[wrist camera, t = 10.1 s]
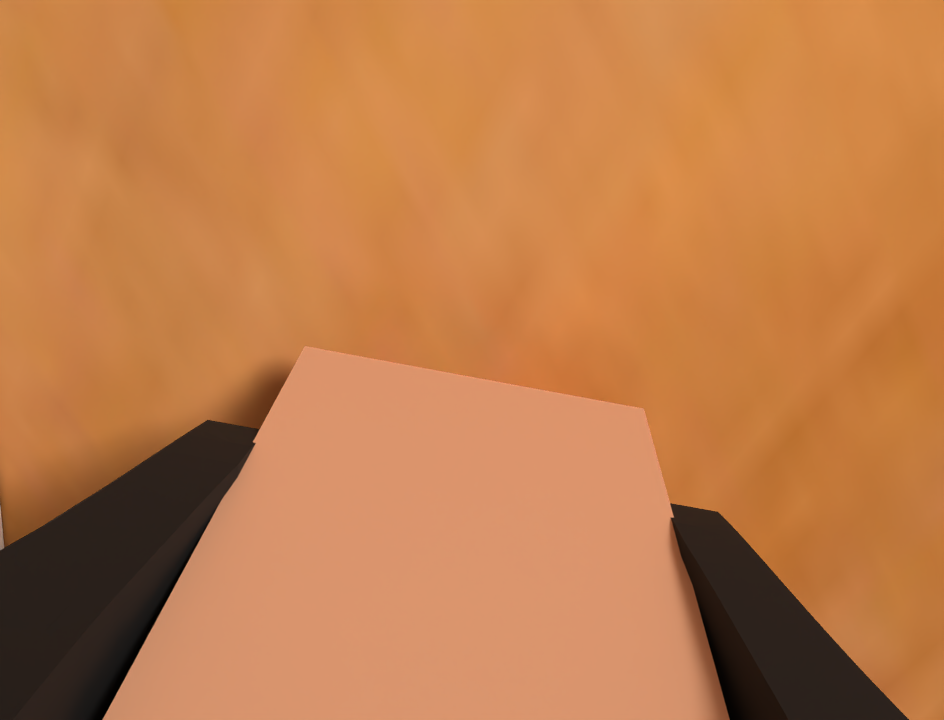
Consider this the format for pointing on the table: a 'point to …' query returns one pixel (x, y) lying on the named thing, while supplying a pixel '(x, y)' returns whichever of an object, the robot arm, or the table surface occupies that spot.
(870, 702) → the robot arm
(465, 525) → the block
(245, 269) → the table surface
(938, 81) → the table surface
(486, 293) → the table surface
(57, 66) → the table surface
